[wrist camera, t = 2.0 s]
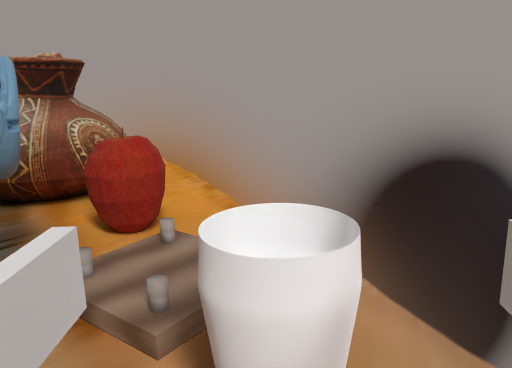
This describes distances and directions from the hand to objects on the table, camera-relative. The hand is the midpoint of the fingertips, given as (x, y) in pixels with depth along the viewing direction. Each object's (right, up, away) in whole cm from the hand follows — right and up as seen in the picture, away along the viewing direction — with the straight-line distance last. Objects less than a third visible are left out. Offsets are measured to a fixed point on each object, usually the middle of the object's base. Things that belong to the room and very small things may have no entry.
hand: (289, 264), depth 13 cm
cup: (+1, -12, +13) cm, 18 cm away
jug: (-39, +1, +67) cm, 78 cm away
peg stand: (-10, -8, +29) cm, 32 cm away
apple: (-18, -4, +46) cm, 50 cm away
